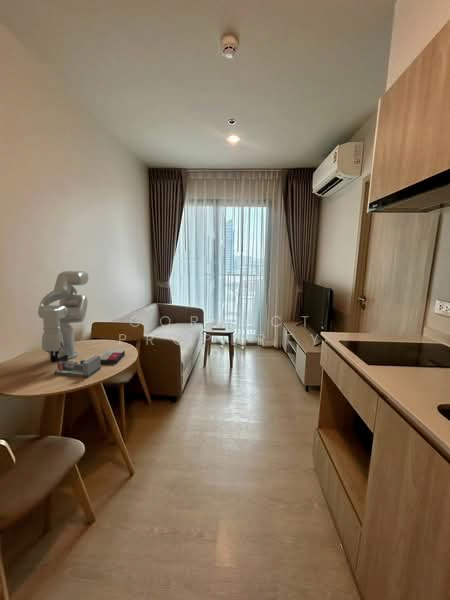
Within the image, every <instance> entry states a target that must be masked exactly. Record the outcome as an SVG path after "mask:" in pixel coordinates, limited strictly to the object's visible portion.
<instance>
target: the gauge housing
mask: <svg viewBox="0 0 450 600" xmlns="http://www.w3.org/2000/svg"><path fill="white" fill-rule="evenodd" d="M100 357H101V355H93V356H92V357H90V358H88V359H87V360H86V359H85V360H84V359H82V360H79V363H77V364H74V367H63V370H62V371H59V369H58V368H57V370H55V371H54V375H59V376H70V377H71V376H72V377H79V378H90V377H92V376H94V374H96V373H98V372H99V371H100V370H102V369H101V368H102V366H101V365H102V364H101V362H100Z"/></svg>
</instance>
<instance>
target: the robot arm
mask: <svg viewBox="0 0 450 600" xmlns="http://www.w3.org/2000/svg"><path fill="white" fill-rule="evenodd" d="M88 281H89V275H88V273H87V272H86V271H79V270H77V271H76V270H72V271H71V270H67V271H66V270H65V271H62V272H60V273H59V274H58V275H57V276H56V280H55V283H54V288H53V290H52V291H51V292H49V293H47V294H46V295H44V297H43V298H42V299H41V301H40V303H39V306H38V309H37V315H38V317H39V318H41V319H42V322H43V323H42V324H43V328H42V330H43V332H42V336H41V337H42V338H41V349H42V350H43V351H44V352H47V353H48V355H49V356H50V362H51V363H57V358H59V357H61V356H63V355H68V360H70V359H73V358H76V357H77V356H78V355H79V354H78V352H77V351H76V349H75V347H76V346H75V336H74V335H75V334H74V333H75V331H74V328H73V326H72V324H75V323H76V324H77V323H83V322H84V321H85V318H86V313H87V308H88V297H86V295H83V294H78V290H77V289H76V287H75V286H83V285H86V284H87V283H88ZM57 301H59V303H58V304H59V305H58V304H57V305H51V304H53V303H54V302H57Z"/></svg>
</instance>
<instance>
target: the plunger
mask: <svg viewBox="0 0 450 600" xmlns="http://www.w3.org/2000/svg"><path fill="white" fill-rule="evenodd" d="M60 361H62V362H63V367H74V364H78V361H72V360H69V359H68V355H63V356H61V357H59V358H57V361H56V366H57V370H58V369H59V362H60Z"/></svg>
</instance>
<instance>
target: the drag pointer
mask: <svg viewBox="0 0 450 600" xmlns="http://www.w3.org/2000/svg"><path fill="white" fill-rule="evenodd" d="M62 370H63V362H62V361H60V362H59V371H62Z"/></svg>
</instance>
